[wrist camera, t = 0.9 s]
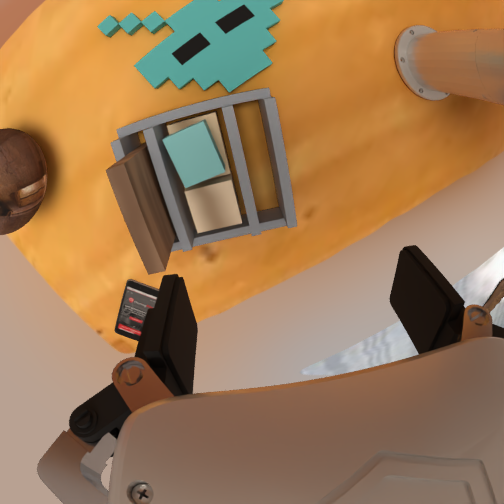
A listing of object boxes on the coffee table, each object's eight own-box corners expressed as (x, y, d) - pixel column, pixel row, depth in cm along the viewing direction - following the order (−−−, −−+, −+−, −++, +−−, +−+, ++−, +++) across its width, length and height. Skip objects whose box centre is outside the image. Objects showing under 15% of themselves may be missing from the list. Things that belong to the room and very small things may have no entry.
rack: (264, 88, 33) (272, 87, 27) (288, 212, 43) (298, 234, 37) (126, 125, 34) (107, 133, 28) (165, 240, 44) (157, 265, 38)
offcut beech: (231, 169, 39) (231, 180, 35) (240, 208, 42) (242, 223, 38) (189, 179, 39) (184, 191, 35) (200, 217, 42) (197, 233, 38)
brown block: (157, 138, 36) (124, 163, 24) (181, 216, 42) (165, 270, 30) (144, 142, 36) (105, 170, 24) (169, 219, 42) (148, 274, 30)
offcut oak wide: (216, 110, 35) (215, 112, 31) (230, 165, 39) (230, 173, 35) (172, 122, 35) (167, 125, 31) (188, 176, 39) (184, 185, 36)
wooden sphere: (-9, 179, 34) (-63, 216, 21) (18, 104, 29) (-47, 122, 16) (45, 224, 40) (-3, 275, 27) (79, 151, 35) (20, 185, 22)
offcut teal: (205, 119, 32) (203, 121, 29) (225, 165, 35) (225, 171, 32) (167, 135, 32) (162, 139, 30) (188, 180, 35) (185, 188, 33)
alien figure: (103, 29, 26) (189, 123, 35) (97, 26, 24) (187, 125, 34) (221, -54, 21) (310, 41, 30) (220, -60, 19) (314, 38, 28)
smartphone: (113, 332, 53) (127, 278, 46) (114, 329, 53) (128, 276, 47) (147, 344, 55) (166, 293, 48) (147, 341, 56) (167, 291, 49)
